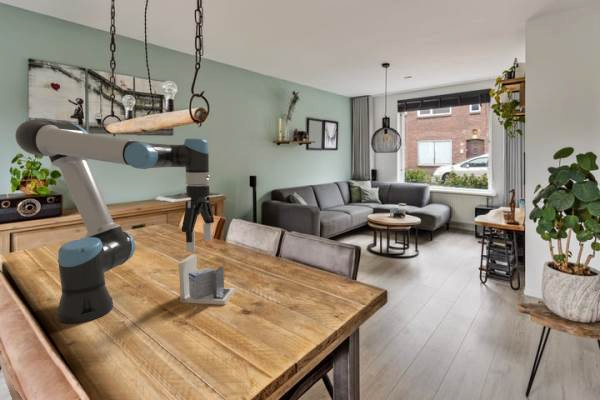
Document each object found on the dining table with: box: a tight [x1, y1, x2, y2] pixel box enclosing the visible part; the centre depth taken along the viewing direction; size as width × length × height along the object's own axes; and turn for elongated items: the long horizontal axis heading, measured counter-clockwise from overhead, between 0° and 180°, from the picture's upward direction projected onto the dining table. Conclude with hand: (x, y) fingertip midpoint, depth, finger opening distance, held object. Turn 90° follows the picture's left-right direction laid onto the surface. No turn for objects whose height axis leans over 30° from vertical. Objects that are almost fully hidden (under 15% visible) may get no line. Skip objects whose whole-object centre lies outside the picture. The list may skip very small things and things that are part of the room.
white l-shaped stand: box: [178, 253, 236, 306], centre depth 115 cm, size 16×10×14 cm, turn 83°
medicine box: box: [189, 267, 216, 299], centre depth 114 cm, size 8×4×9 cm, turn 140°
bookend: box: [213, 266, 230, 299], centre depth 114 cm, size 3×7×9 cm, turn 173°
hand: (199, 245), depth 112 cm, fingers open, 13 cm apart
